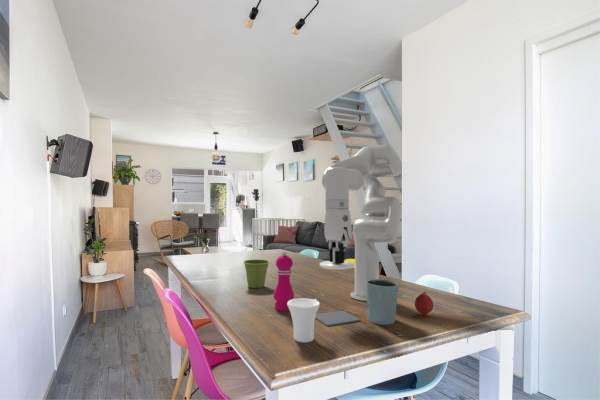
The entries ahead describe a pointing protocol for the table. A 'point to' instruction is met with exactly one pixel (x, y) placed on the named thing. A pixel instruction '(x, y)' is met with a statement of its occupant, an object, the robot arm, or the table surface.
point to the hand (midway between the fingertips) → (336, 261)
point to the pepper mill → (283, 282)
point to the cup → (303, 318)
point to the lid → (336, 266)
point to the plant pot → (256, 272)
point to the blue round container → (381, 301)
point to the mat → (336, 318)
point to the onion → (424, 304)
